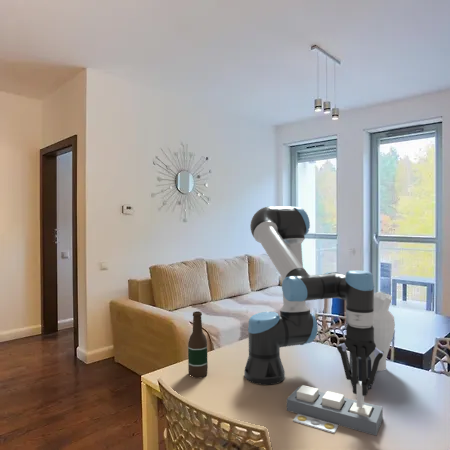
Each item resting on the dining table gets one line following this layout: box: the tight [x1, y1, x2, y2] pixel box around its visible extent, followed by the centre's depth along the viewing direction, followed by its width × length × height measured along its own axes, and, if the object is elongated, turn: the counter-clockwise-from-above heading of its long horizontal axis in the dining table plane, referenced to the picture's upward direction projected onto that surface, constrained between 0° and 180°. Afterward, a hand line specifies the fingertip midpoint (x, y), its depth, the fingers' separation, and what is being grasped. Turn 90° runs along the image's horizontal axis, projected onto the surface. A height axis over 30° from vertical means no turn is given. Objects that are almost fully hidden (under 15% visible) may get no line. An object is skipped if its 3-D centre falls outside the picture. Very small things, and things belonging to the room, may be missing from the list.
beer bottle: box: [187, 310, 209, 378], centre depth 141 cm, size 8×8×24 cm
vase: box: [369, 291, 396, 372], centre depth 145 cm, size 15×15×29 cm
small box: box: [349, 352, 372, 390], centre depth 132 cm, size 11×6×10 cm, turn 168°
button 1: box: [297, 384, 320, 403], centre depth 114 cm, size 5×5×2 cm
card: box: [292, 413, 339, 434], centre depth 105 cm, size 12×4×1 cm, turn 58°
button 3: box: [350, 402, 372, 418], centre depth 106 cm, size 5×5×2 cm
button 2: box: [322, 390, 345, 410], centre depth 110 cm, size 5×5×2 cm
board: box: [286, 386, 384, 436], centre depth 110 cm, size 26×10×4 cm, turn 58°
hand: (360, 405), depth 106 cm, fingers closed
